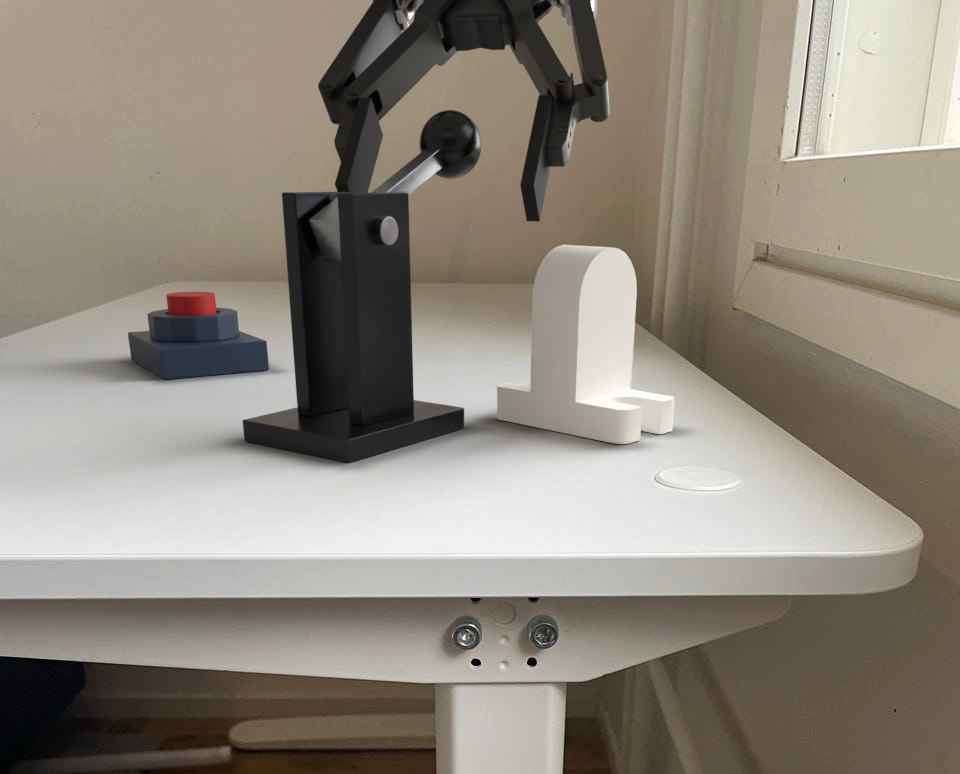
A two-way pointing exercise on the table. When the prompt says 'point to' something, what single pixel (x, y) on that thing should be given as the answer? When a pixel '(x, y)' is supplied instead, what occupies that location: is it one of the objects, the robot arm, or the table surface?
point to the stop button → (191, 303)
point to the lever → (413, 171)
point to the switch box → (197, 345)
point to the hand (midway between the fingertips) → (437, 202)
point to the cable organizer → (585, 352)
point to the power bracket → (351, 335)
